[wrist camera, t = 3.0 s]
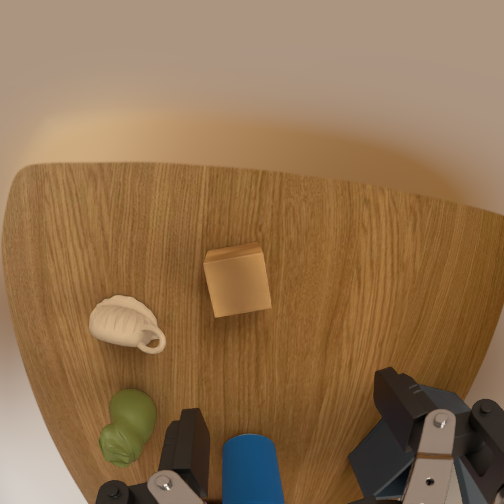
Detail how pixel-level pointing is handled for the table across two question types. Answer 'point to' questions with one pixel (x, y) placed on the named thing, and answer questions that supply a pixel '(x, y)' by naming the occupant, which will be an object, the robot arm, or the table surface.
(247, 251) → the block
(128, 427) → the olive green lumpy piece
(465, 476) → the lid
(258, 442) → the beverage can
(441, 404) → the chest
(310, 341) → the table surface
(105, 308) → the decorative ornament
